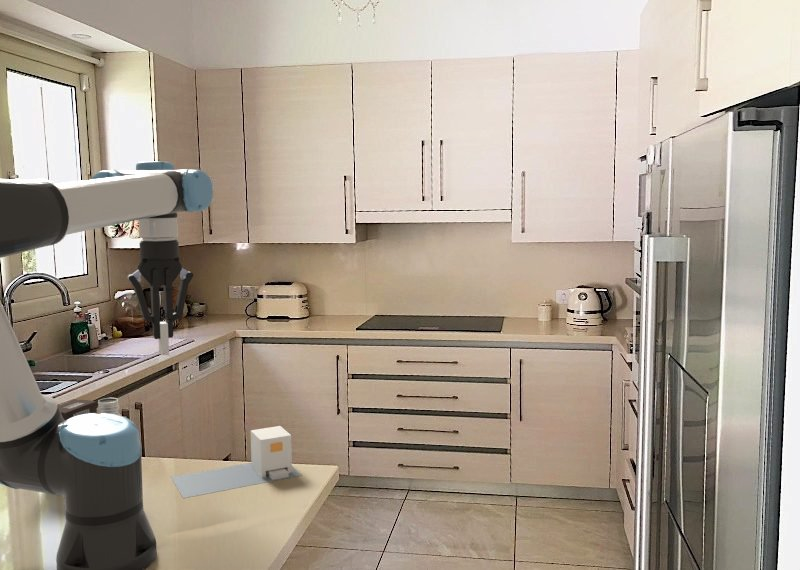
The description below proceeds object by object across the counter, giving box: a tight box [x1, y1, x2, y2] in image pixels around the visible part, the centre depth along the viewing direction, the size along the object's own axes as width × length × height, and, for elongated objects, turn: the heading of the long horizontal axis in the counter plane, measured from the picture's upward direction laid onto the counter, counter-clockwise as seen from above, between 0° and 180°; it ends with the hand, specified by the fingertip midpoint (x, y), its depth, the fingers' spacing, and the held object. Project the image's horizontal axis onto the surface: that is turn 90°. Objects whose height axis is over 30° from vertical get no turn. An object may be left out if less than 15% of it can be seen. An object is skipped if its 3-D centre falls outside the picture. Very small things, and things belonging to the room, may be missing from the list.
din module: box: [250, 425, 293, 478], centre depth 156 cm, size 7×6×8 cm
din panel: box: [170, 462, 303, 499], centre depth 153 cm, size 12×24×2 cm, turn 118°
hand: (164, 353), depth 154 cm, fingers closed
